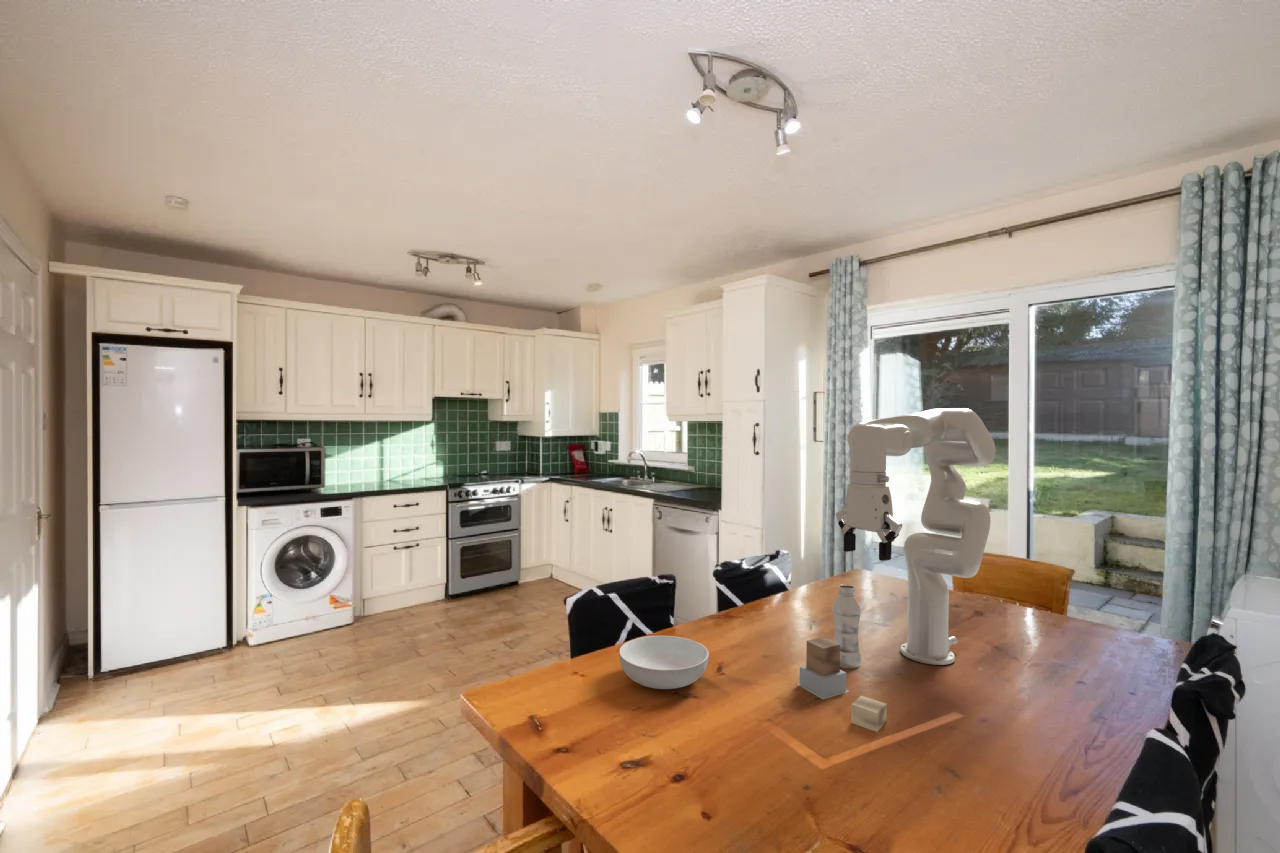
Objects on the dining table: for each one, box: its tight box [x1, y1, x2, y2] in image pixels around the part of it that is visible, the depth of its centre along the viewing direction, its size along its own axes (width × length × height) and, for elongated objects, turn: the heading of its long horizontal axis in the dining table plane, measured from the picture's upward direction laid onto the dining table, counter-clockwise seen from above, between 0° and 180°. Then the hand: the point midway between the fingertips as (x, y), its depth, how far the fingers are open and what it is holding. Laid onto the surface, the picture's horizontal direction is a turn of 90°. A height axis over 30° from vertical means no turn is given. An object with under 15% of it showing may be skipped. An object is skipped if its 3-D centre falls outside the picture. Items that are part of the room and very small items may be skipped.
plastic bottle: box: [831, 584, 862, 670], centre depth 141 cm, size 6×7×20 cm
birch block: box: [850, 695, 888, 733], centre depth 113 cm, size 5×5×5 cm
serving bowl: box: [618, 635, 710, 690], centre depth 134 cm, size 21×21×7 cm
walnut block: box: [805, 636, 841, 676], centre depth 128 cm, size 5×5×6 cm
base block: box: [799, 664, 848, 698], centre depth 128 cm, size 7×7×4 cm
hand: (866, 555), depth 130 cm, fingers open, 9 cm apart
